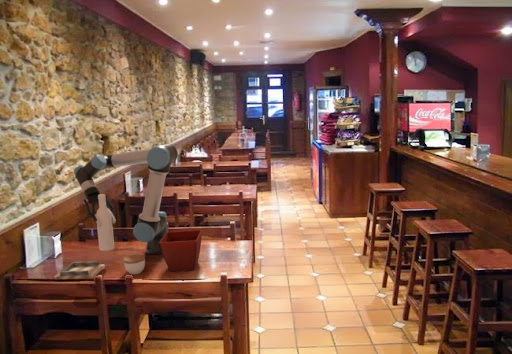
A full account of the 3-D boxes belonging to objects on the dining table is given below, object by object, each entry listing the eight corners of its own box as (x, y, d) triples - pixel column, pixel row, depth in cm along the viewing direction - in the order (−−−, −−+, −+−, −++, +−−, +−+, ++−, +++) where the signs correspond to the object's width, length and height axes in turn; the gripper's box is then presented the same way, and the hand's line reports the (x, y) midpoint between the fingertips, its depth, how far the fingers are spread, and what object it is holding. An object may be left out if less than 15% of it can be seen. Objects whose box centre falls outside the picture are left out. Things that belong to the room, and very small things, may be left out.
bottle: (117, 246, 261) (112, 193, 255) (108, 251, 253) (103, 196, 248) (105, 245, 263) (100, 192, 258) (96, 250, 256) (90, 196, 251)
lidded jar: (127, 269, 252) (125, 252, 250) (147, 267, 252) (145, 250, 251) (123, 277, 241) (121, 259, 239) (144, 275, 242) (142, 257, 240)
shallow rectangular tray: (104, 266, 257) (104, 260, 257) (92, 278, 241) (91, 271, 241) (69, 267, 259) (68, 261, 258) (54, 279, 243) (53, 272, 243)
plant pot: (169, 261, 260) (166, 231, 257) (204, 259, 260) (202, 229, 257) (161, 274, 241) (158, 242, 239) (199, 272, 241) (196, 240, 238)
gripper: (105, 191, 271) (122, 223, 263) (70, 197, 257) (87, 232, 249) (109, 182, 266) (126, 215, 258) (73, 189, 252) (90, 224, 244)
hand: (107, 223), depth 253 cm, fingers closed on bottle, 8 cm apart
